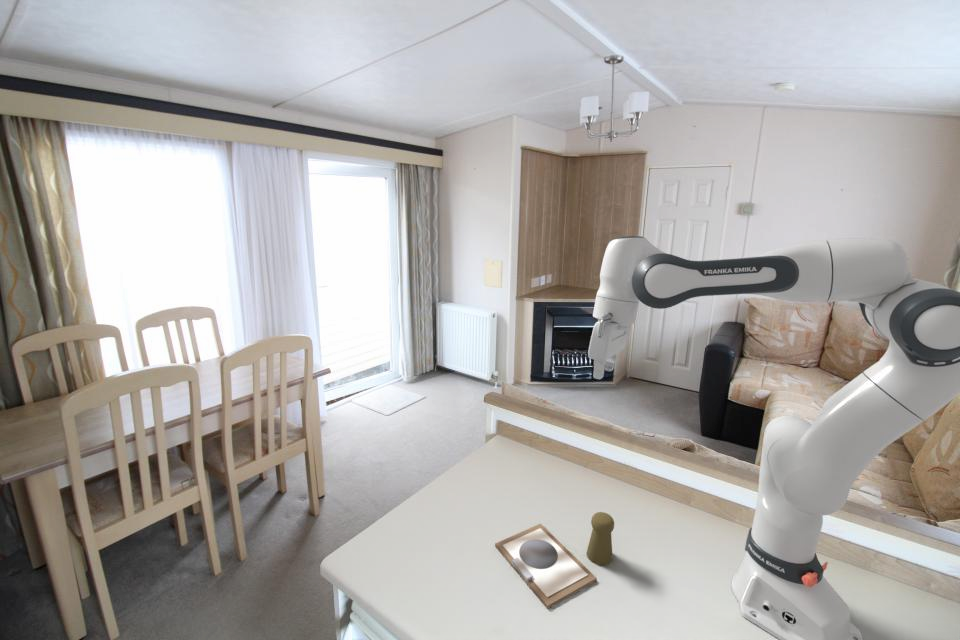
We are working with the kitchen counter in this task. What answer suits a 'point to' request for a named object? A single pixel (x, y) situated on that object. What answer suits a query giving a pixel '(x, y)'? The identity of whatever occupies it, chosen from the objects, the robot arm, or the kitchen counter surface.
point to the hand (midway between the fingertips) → (603, 374)
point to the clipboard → (545, 565)
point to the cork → (601, 539)
